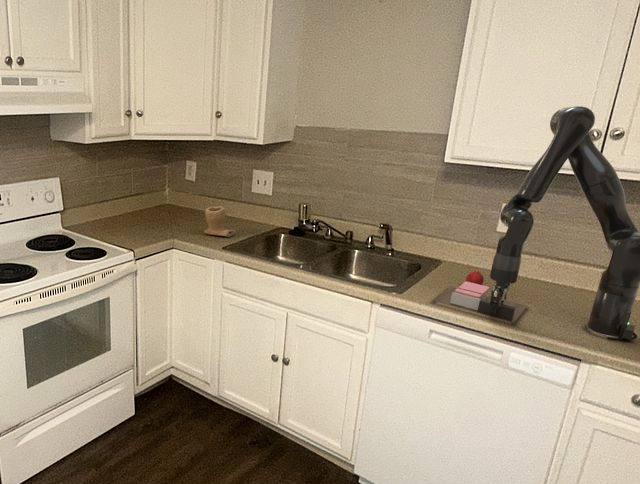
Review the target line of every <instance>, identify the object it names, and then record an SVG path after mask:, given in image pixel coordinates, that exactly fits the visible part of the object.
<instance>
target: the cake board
mask: <svg viewBox="0 0 640 484" xmlns="http://www.w3.org/2000/svg"><path fill="white" fill-rule="evenodd" d="M456 289H458V287H453V286H449V288H447V289H446V290H444V291H443V292H442V293H441V294H440V295H439V296H437V297H435V299H433V300H432V301H433V302H435V303H438V304H443V305H446V306H451V307H454V308H457V309H462V310H465V311H469V312H473V313H476V314H480V315H484V316H488V317H491V318H494V319H498V320H501V321H506V322H509V323H513V324H514V323H515V322H516V321H517V319H519V317H520V316H521V315H522V313H523V312H524V310H525V309H527V307H528V305H527V304H522V303H519V302H514V301H511V300H507V299H505V300H504V303H503V304H504V305H508V306H512V307H516V308H515V312H514V316H513V319H512V320H508V319H504V318H501V317H493V316H490V315H489V314H486V313H482V312H478V310H475V309H471V308H467V307H464V306H460V305H456V304H452V303H450V301H451V296H452V292H453V293H454V291H455V290H456ZM485 300H489V301H490V300H491V295H488V297H487V298H486V299H485ZM494 302H495V301H494ZM496 302H497V301H496Z"/></svg>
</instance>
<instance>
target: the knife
mask: <svg viewBox="0 0 640 484" xmlns="http://www.w3.org/2000/svg"><path fill="white" fill-rule="evenodd" d="M450 303H452V304H456V305H460V306H464V307H467V308H471V309H475V310H478V312H482V313H486V314H489V315H490V310H491V306H492V305H490V301H489V300H485V299H477V298H473V297H469V296H465V295H461V294H457V293H453V292H452V296H451V301H450ZM495 303H496V302H495ZM500 305H501V306H500V307H499V312H498V316H497V317H501V318H504V319H508V320H512V319H513V316H514V312H515V308H516V307H512V306H508V305H504V304H500Z"/></svg>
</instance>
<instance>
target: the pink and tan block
mask: <svg viewBox="0 0 640 484" xmlns="http://www.w3.org/2000/svg"><path fill="white" fill-rule="evenodd" d="M454 293H457V294H461V295H465V296H469V297H473V298H477V299H481V297H482V294H478V293H473V292H469V291H465V290H461V289H456V290H455V291H454Z"/></svg>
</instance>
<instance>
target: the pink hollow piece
mask: <svg viewBox="0 0 640 484" xmlns="http://www.w3.org/2000/svg"><path fill="white" fill-rule="evenodd" d="M226 215H227V213H226V208H224V207H223V206H221V205H220V206H219V205H218V206H210V207H208V208H206V209H205V211H204V216H205V220H206V223H207V229H205V230H204V234H206V235H211V236H217V237H225V238H231V237H232V236H234V235H235V234H236V233H237V230H235V229H230V228H226V227H225V222H226Z"/></svg>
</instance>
